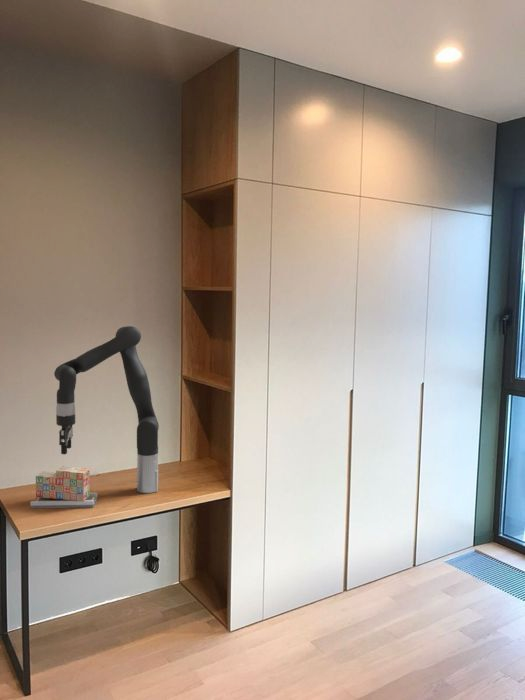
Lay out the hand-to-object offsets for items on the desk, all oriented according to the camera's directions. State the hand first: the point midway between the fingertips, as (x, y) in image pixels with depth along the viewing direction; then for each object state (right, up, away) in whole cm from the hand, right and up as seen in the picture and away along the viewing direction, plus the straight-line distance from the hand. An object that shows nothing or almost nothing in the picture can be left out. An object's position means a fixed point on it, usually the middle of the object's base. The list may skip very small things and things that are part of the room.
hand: (66, 451), depth 237 cm
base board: (-1, -22, +1) cm, 22 cm away
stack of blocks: (-2, -20, +1) cm, 20 cm away
